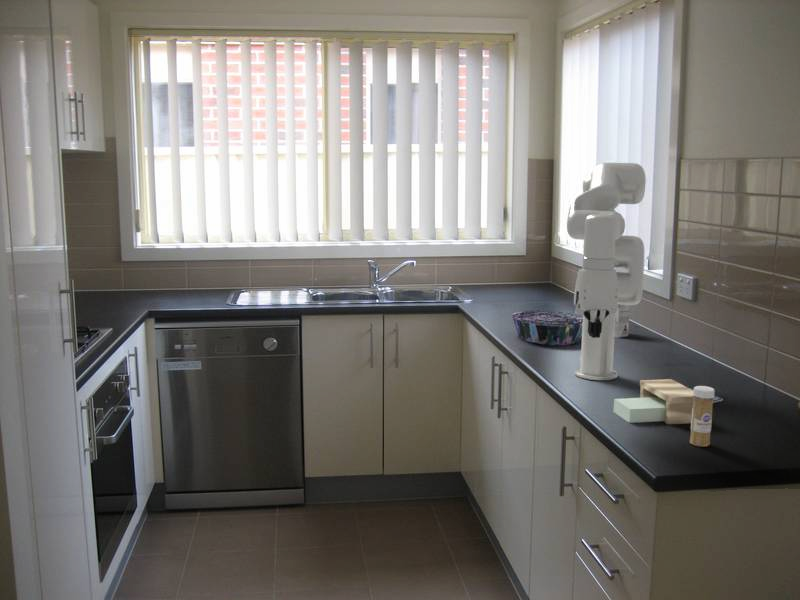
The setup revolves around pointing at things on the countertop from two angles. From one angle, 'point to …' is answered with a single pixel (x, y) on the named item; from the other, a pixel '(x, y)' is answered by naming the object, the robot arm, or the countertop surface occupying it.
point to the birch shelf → (670, 398)
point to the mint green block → (641, 409)
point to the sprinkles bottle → (701, 416)
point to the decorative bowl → (548, 327)
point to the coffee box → (622, 320)
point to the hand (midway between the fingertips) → (594, 336)
